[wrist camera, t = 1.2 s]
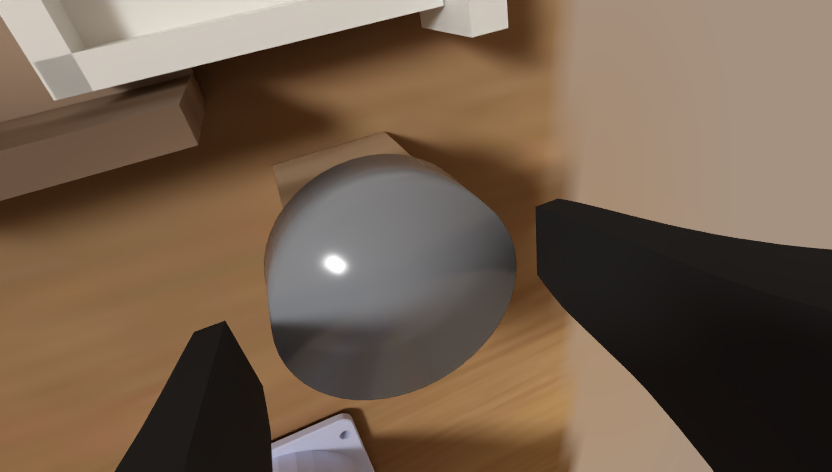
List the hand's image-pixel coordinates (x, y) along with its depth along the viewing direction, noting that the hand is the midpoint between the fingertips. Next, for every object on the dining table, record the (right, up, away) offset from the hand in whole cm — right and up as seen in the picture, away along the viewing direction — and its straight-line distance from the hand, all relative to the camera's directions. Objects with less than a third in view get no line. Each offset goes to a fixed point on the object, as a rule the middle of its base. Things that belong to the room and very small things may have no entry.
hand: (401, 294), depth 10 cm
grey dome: (-1, +1, +1) cm, 2 cm away
